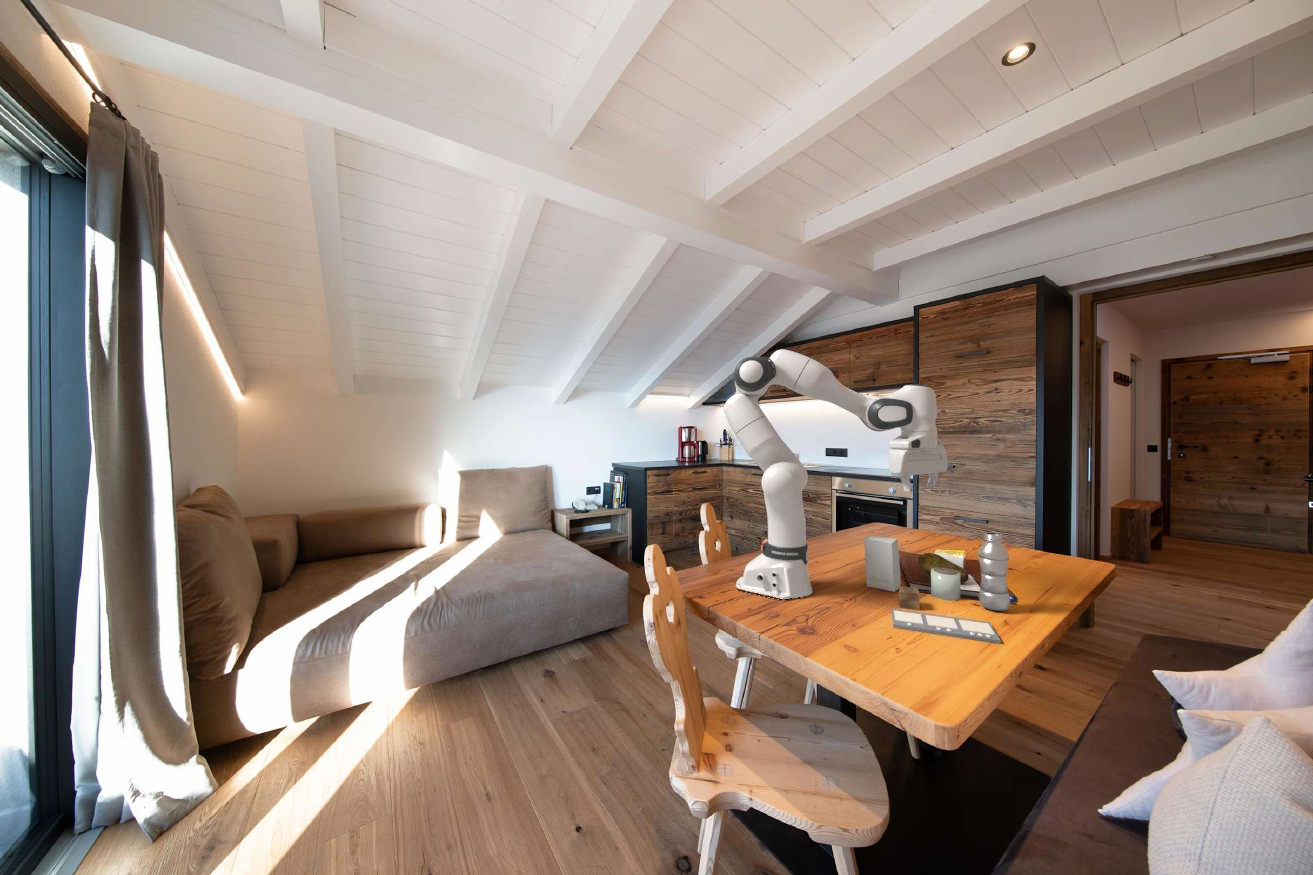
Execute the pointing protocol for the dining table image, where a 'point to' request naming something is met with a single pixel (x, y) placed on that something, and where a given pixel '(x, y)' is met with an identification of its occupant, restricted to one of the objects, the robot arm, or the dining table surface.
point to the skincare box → (882, 563)
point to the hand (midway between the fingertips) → (919, 489)
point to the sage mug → (945, 584)
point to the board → (945, 625)
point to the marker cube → (909, 598)
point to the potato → (940, 565)
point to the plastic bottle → (994, 573)
